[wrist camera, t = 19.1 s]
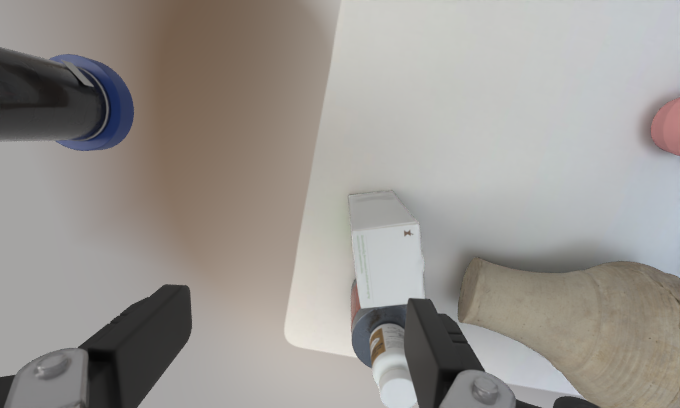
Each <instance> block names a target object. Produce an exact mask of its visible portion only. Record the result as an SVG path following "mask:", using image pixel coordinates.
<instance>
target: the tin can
mask: <svg viewBox="0 0 680 408" xmlns="http://www.w3.org/2000/svg"><path fill="white" fill-rule="evenodd" d="M406 311H407V304H403V305H393V306H383V307H372V308H363V309H362V308H361V306H360V301H359V295H358V288H357V281H356V279H355V280H354V282H353V285H352V289H351V332H352V346H353V349H354V351H355V353H356V355H357V357H358V358H359V359H360V360H361V361H362V362H363V363H364V364H365V365H367V366H368V367H370V368H372V364H371V353H370V336H371V334H372V332H373V331H374V330H375V329H376V328H377V327H378V326H380V325H383V324H396V325H399V326H400V327H402V328H403V329H404V330H405V321H406Z"/></svg>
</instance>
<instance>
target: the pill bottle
mask: <svg viewBox="0 0 680 408" xmlns="http://www.w3.org/2000/svg"><path fill="white" fill-rule="evenodd" d="M370 353H371V364H372V374H373V378H374V380H375V383H376V384H377V385H378V387H379V391H380V397H381V400H382V402H383V404H384V405H385V406H386V407H388V408H411V407H413V406H414V405H415V404H416V402H417V397H416V394H415V390H414V386H413V383H412V379H411V375H410V372H409V368H408V364H407V361H406V357H405V352H404V329H403V328H402V327H400V326H399V325H396V324H383V325H380V326H378V327H377V328H376V329H375V330H374V331H373V332H372V334H371V336H370Z"/></svg>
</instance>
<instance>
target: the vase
mask: <svg viewBox="0 0 680 408" xmlns="http://www.w3.org/2000/svg"><path fill="white" fill-rule="evenodd" d="M458 320H459V322H461V323H467V324H472V325H477V326H480V327H484V328H487V329H489V330H492V331H495V332H498V333H500V334H503V335H505V336H508V337H510V338H512V339H514V340H517V341H519V342H521V343H523V344H524V345H526V346H528V347H529V348H531V349H533V350H535V351H536V352H538V353H539V354H541V355H542V356H544V357H545V358H546V359H547V360H549V361H550V362H551V363H552V365H553V366H554V367H555V368H556V369H557V370H559V371H561V372H562V373H563V375H564V376H565V377H566V379H567V380H568V381H569V382H570V383H571V384H572V385H573V387H574V388H575V389H576V390H577V391H578V392H579V393H580V394H581V395H582V396H583V397H584V398H585V399H586V400H587V401H589V402H591V403H593V404H595V405H597V406H599V407H601V408H680V278H679V277H677V276H675V275H672V274H668V273H664V272H662V271H660V270H658V269H656V268H653V267H651V266H648V265H645V264H641V263H636V262H627V261H617V262H609V263H603V264H600V265H597V266H594V267H591V268H588V269H586V270H583V271H580V270H576V271H572V272H567V273H543V272H530V271H522V270H516V269H512V268H507V267H504V266H500V265H496V264H493V263H490V262H487V261H485V260H483V259H480V258H477V257H475V258H473V259H472V261H471V262H470V263H469V265H468V267H467V270H466V272H465V275H464V278H463V281H462V285H461V292H460V297H459V302H458Z"/></svg>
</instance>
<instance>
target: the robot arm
mask: <svg viewBox="0 0 680 408" xmlns="http://www.w3.org/2000/svg"><path fill="white" fill-rule="evenodd" d="M62 61H63V60H62ZM110 117H111V103H110V98H109V95H108V93H107V91H106V89H105V87H104V85H103V84H102V83H101V81H100V80H99V79H98V78H97V77H96V76H95V75H94V74H92V73H91V72H90V71H88V70H86V69H84V68H82V67H79V66H75V65H74V64H73V63H71V62H67V61H63V63H60V62H56V61H52V60H49V59H45V58H41V57H37V56H33V55H29V54H25V53H21V52H17V51H13V50H9V49H5V48H2V47H0V141H64V140H71V141H87V140H91V139H94V138H96V137H97V136H99V135H100V134H101V133H102V132H103V131H104V130H105V129H106V127H107V125H108V123H109V121H110ZM191 329H192V316H191V300H190V290H189V287H188V286H186V285H168V284H166V285H163V286H162V287H161V288H160V289H158V290H157V291H156V292H155V293H154V294H152V295H151V296H150V297H147V298H145V299H143V300H141V301H139V302H137V303H135V304H132V305H131V306H130V307H128V308H127V309H126V310H124V311H123V312H122V313H121V314H120V316H117V317H116V318H114V319H113V320H112V321H111V323H110V324H107V325H106V326H105V327H103V328H102V329H101V330H99V331H98V332H97V333H96V334H94V335H93V336H92V337H91V338H89V339H88V340H87V341H86V342H84V343H83V344H82V345H80V346H79V347H78V348H67V349H61V350H57V351H53V352H50V353H48V354H45V355H43V356H40V357H38V358H36V359H34V360H32V361H31V362H29V363H28V364H26V365H25V366H24V367H22V369H20V370H19V371H18V372H17V374H16V375H12V376H5V377H0V408H137V407H138V405H139V404H140V403H141V401H142V400H143V399H144V398H145V396H146V395H147V394H148V392H149V391H150V390H151V389H152V387H153V386H154V385H155V383H156V382H157V381H158V379H159V378H160V377H161V375H162V374H163V373H164V371H165V370H166V369H167V368H168V366H169V365H170V364H171V362H172V361H173V360H174V358H175V357H176V356H177V354H178V353H179V352H180V351H181V349H182V348H183V347H184V345H185V344H186V343H187V341H188V339H189V336H190V334H191ZM404 352H405V357H406V361H407V364H408V368H409V372H410V375H411V379H412V383H413V386H414V390H415V394H416V397H417V401H418V405H419V408H541V407H538V406H534V405H531V404H527V403H525V402H522V401H519V400H517V399H516V398H515V396H514V393H513V392H512V390H511V389H510V388H509V387H508V386H507V385H506V384H505V383H504V382H503V381H502V380H500V379H499V378H497V377H495V376H494V375H492V374H489V373H487V372H485V370H484V368H483V367H482V365H481V363H480V362H479V360H478V358H477V357H476V355H475V353H474V352H473V350H472V348H471V346H470V345H469V344H468V341H467V340H466V338H465V336H464V335H463V333H462V331H461V330H460V328H459V326H458V325H457V323H456V322H455V321H454V320H452V319H451V318H450V317H449V316H447V315H446V314H438V313H437V311H436V309H435V307H434V305H433V303H432V301H431V300H430V299H420V298H409V299H408V303H407V311H406V321H405V330H404ZM553 408H601V407H599V406H597V405H595V404H593V403H591V402H589V401H586V400H583V399H580V398H576V397H571V396H565V397H560V398H558V399H556V401H555V403H554V406H553Z"/></svg>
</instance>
